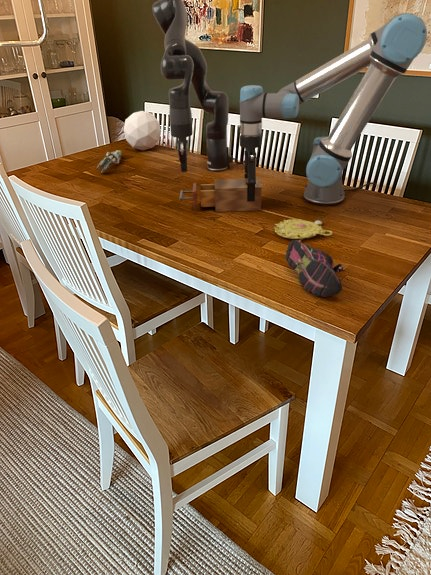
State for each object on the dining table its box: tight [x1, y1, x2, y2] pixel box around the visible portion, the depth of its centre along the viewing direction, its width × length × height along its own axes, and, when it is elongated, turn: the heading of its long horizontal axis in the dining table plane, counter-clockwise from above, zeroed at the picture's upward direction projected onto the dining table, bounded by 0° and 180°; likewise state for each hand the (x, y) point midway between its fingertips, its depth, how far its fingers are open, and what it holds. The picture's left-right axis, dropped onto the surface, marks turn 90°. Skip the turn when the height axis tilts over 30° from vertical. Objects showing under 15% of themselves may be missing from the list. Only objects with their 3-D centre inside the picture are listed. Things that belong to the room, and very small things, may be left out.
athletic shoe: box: [285, 239, 346, 298], centre depth 119 cm, size 11×22×12 cm
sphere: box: [123, 110, 162, 151], centre depth 233 cm, size 19×20×20 cm
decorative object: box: [273, 218, 333, 242], centre depth 145 cm, size 21×2×20 cm
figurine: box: [96, 150, 123, 174], centre depth 213 cm, size 7×8×30 cm
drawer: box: [179, 182, 216, 210], centre depth 165 cm, size 20×9×7 cm, turn 92°
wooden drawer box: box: [214, 177, 263, 213], centre depth 165 cm, size 17×10×9 cm, turn 92°
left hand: (184, 171), depth 160 cm, fingers closed
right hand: (249, 195), depth 165 cm, fingers closed on wooden drawer box, 10 cm apart
